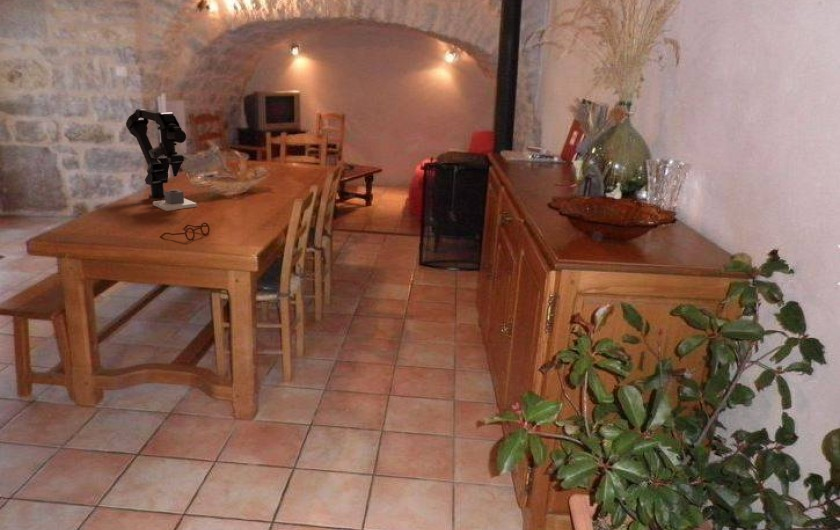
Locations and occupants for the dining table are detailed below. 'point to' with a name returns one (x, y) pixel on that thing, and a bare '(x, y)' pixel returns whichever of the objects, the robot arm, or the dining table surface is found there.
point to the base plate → (174, 205)
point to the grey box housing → (174, 197)
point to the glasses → (191, 229)
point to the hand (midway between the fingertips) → (170, 174)
